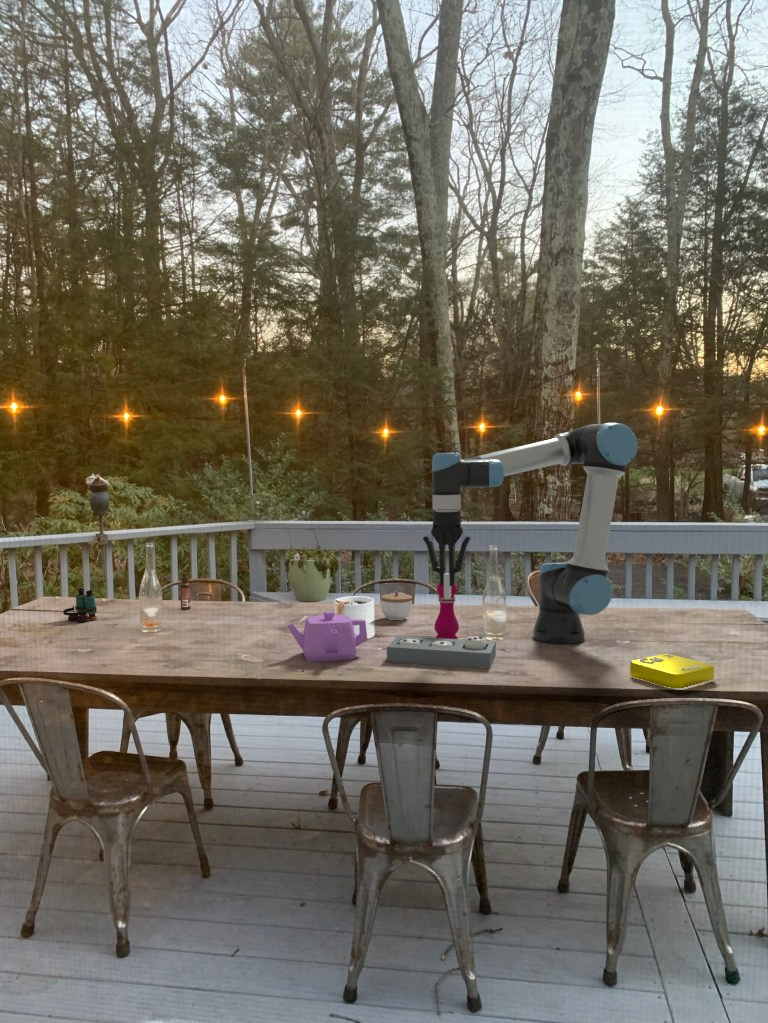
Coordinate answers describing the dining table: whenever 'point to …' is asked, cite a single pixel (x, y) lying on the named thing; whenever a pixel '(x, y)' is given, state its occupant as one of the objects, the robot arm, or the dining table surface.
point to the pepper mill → (446, 615)
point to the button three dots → (475, 643)
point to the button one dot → (442, 644)
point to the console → (441, 653)
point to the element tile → (671, 670)
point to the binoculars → (82, 607)
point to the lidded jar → (396, 605)
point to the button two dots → (410, 642)
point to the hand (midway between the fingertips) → (447, 597)
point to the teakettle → (329, 637)
